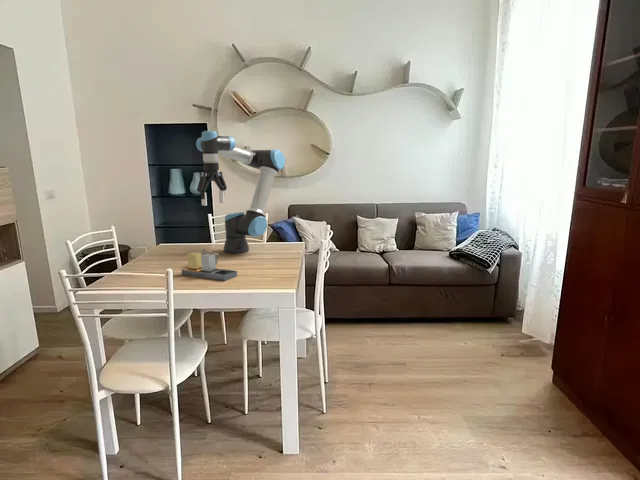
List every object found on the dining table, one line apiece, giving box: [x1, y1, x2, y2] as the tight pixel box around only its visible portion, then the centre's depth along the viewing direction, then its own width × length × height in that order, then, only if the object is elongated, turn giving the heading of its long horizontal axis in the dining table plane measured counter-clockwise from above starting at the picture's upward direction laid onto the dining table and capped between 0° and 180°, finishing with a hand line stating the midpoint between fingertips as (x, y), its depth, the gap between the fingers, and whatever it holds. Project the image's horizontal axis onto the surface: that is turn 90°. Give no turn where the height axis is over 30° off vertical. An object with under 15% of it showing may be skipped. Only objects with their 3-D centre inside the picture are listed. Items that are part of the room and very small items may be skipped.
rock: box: [196, 248, 220, 265], centre depth 219 cm, size 12×7×10 cm, turn 94°
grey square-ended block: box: [201, 254, 217, 273], centre depth 200 cm, size 4×4×10 cm
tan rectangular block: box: [187, 251, 202, 271], centre depth 204 cm, size 4×4×10 cm
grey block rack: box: [181, 267, 238, 282], centre depth 200 cm, size 9×26×3 cm, turn 64°
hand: (213, 204), depth 218 cm, fingers open, 13 cm apart
